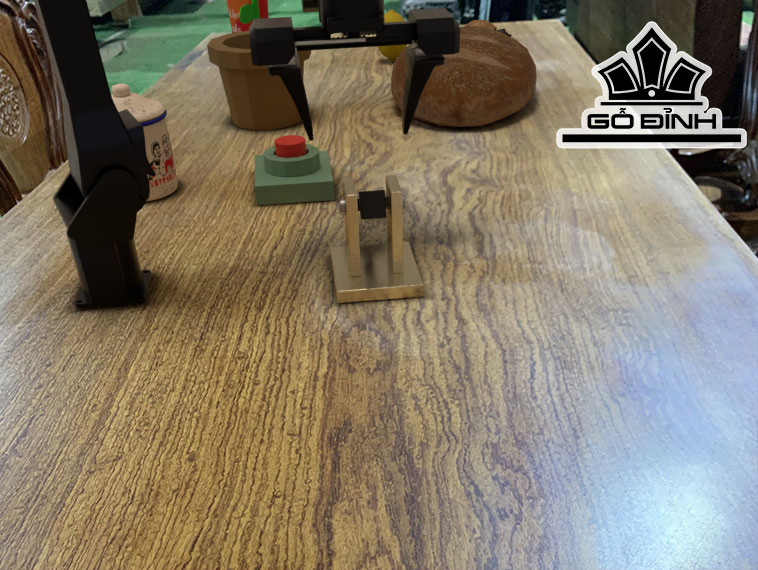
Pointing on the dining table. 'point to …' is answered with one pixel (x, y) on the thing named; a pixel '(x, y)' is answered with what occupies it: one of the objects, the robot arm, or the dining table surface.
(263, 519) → the dining table surface
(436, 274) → the dining table surface
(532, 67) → the bread
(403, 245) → the lever base
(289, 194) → the control block
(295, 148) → the button
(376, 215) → the press lever
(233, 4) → the paper cup
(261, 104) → the flowerpot
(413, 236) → the dining table surface
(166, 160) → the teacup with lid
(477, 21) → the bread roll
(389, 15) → the lemon
